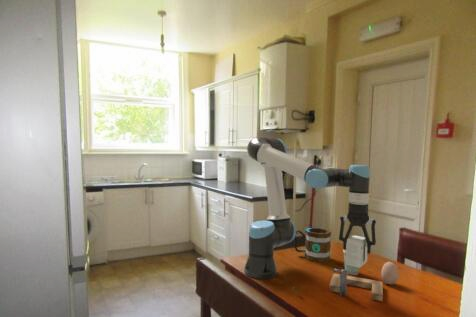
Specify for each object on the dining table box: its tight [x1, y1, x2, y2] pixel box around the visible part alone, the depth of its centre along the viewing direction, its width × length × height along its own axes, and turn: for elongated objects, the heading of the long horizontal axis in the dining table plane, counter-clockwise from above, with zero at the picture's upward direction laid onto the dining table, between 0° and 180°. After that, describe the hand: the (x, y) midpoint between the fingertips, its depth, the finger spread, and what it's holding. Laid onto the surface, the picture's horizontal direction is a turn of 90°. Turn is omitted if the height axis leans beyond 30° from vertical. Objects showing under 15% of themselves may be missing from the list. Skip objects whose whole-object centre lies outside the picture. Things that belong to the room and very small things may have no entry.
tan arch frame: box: [328, 272, 384, 302], centre depth 131 cm, size 20×14×2 cm
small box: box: [346, 234, 367, 269], centre depth 127 cm, size 8×6×10 cm
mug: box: [293, 227, 332, 263], centre depth 170 cm, size 20×14×15 cm
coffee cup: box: [342, 249, 360, 276], centre depth 149 cm, size 8×8×12 cm
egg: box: [380, 261, 399, 286], centre depth 137 cm, size 7×7×10 cm
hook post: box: [332, 268, 348, 298], centre depth 126 cm, size 5×2×10 cm, turn 66°
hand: (356, 259), depth 127 cm, fingers closed on small box, 6 cm apart
